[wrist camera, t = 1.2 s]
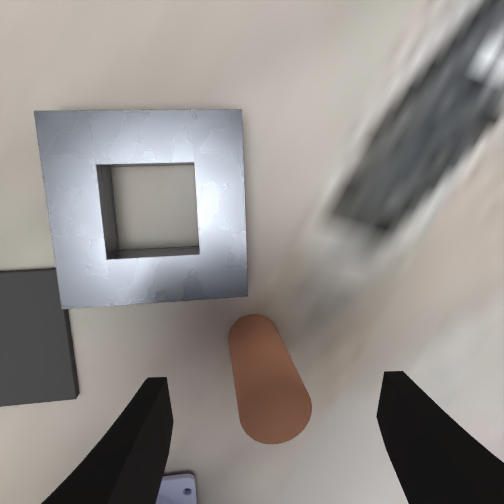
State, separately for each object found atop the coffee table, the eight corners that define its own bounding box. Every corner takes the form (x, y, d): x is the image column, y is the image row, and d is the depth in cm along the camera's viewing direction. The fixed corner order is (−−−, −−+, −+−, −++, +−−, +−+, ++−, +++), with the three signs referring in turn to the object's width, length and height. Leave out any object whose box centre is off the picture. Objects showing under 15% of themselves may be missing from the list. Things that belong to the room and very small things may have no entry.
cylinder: (278, 359, 22) (311, 439, 15) (229, 363, 21) (240, 448, 14) (277, 312, 21) (311, 374, 14) (227, 316, 21) (238, 381, 14)
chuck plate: (243, 282, 20) (248, 296, 18) (79, 293, 19) (61, 309, 17) (236, 119, 19) (241, 109, 16) (57, 121, 18) (33, 110, 15)
